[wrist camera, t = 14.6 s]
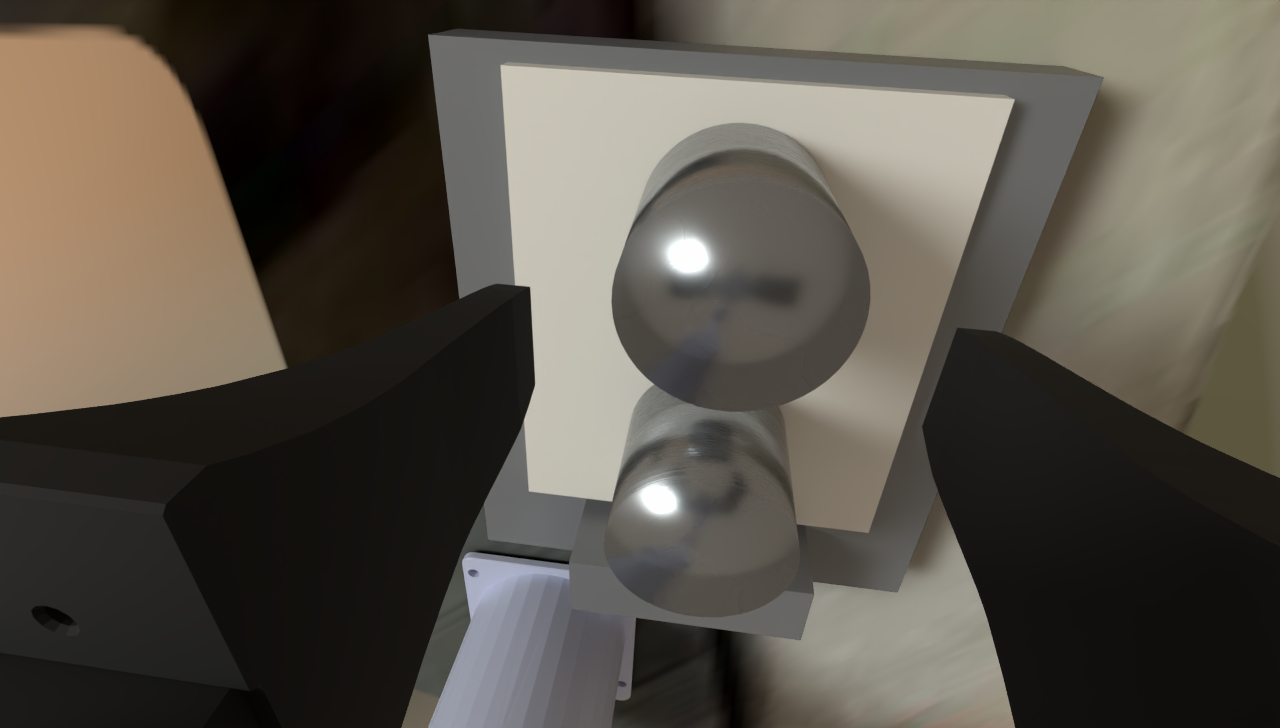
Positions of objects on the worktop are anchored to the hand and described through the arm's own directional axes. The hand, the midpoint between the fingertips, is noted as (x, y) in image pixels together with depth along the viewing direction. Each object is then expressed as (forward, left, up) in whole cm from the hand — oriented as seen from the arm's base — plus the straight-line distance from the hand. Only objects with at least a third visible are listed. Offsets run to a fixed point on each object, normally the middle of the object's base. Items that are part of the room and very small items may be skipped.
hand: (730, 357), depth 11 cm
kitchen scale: (-5, 0, -9) cm, 11 cm away
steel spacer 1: (0, 0, -7) cm, 7 cm away
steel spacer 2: (-7, 0, -7) cm, 10 cm away
